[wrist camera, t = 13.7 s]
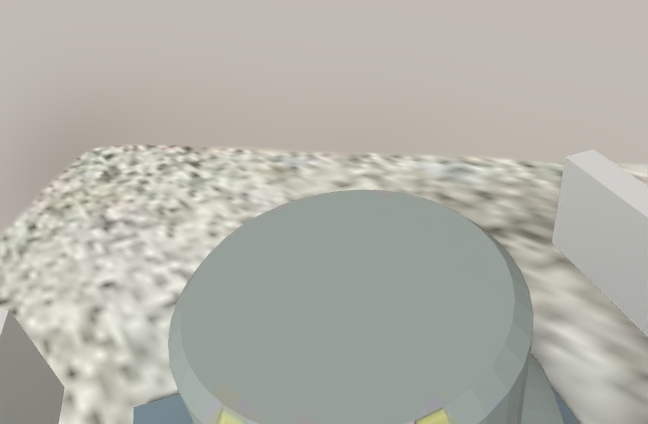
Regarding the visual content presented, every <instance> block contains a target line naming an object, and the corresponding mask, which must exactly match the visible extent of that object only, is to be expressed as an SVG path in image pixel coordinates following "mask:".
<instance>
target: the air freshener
mask: <svg viewBox="0 0 648 424" xmlns="http://www.w3.org/2000/svg"><path fill="white" fill-rule="evenodd" d="M532 328H533V310H532V304H531V299H530V293H529V290H528V287H527V285H526V283H525V280H524V278H523V275H522V273H521V270H520V269H519V268H518V266H517V265H516V263H515V262H514V260H513V259H512V257H511V256H510V254H509V253H508V252H507V250H506V249H505V248H504V247H503V246H502V245H501V244H500V243H499V242H498V241H497V240H496V239H495V238H494V237H493V236H492V235H490V234H489V233H487V232H486V231H485V230H483V229H482V228H481V227H479V226H478V225H477V224H475V223H474V222H472V221H471V220H469V219H467V218H466V217H464V216H462V215H460V214H459V213H457V212H455V211H453V210H451V209H449V208H447V207H445V206H443V205H440V204H438V203H435V202H432V201H430V200H427V199H424V198H420V197H416V196H412V195H408V194H404V193H396V192H389V191H379V190H351V191H338V192H331V193H324V194H318V195H314V196H310V197H306V198H302V199H298V200H295V201H292V202H290V203H287V204H284V205H281V206H278V207H276V208H274V209H272V210H270V211H267V212H265V213H263V214H261V215H259V216H257V217H256V218H254V219H252V220H251V221H249V222H247V223H246V224H244V225H242V226H241V227H239V228H238V229H237V230H235V231H234V232H233V233H231V234H230V235H229V236H228V237H226V238H225V239H224V240H223V241H222V242H221V243H220V244H219V245H218V246H217V247H216V248H215V249H214V250H213V251H212V252H211V253H210V254H209V255H208V256H207V257H206V258H205V260H204V261H203V262H202V263H201V264H200V266H199V267H198V268H197V270H196V271H195V272H194V274H193V275H192V276H191V278H190V279H189V280H188V282H187V284H186V286H185V288H184V289H183V291H182V293H181V295H180V297H179V299H178V301H177V304H176V307H175V310H174V313H173V316H172V319H171V323H170V331H169V340H168V349H169V359H170V368H171V370H172V373H173V376H174V379H175V382H176V385H177V388H178V391H179V393H180V395H181V397H182V399H183V401H184V403H185V405H186V407H187V409H188V412H189V414H190V416H191V418H192V420H193V422H192V424H564V422H563V419H562V416H561V413H560V410H559V407H558V404H557V402H556V399H555V396H554V393H553V390H552V388H551V386H550V383H549V381H548V379H547V377H546V374H545V372H544V370H543V368H542V366H541V365H540V363H539V362H538V361H537V359H536V358H535V357H534V356H533V355H532V354H530V349H531V342H532Z"/></svg>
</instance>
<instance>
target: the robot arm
mask: <svg viewBox="0 0 648 424" xmlns="http://www.w3.org/2000/svg"><path fill="white" fill-rule="evenodd" d="M552 243H553V244H554V245H555V246H556V247H557V248H558V249H559V250H560V251H561V252H562V253H563V254H564V255H565V256H566V257H567V258H568V259H569V260H570V261H571V262H572V263H573V264H574V265H575V266H576V267H577V268H578V269H579V270H580V271H581V272H582V273H583V274H584V275H585V276H586V277H587V278H588V279H589V280H590V281H591V282H592V283H593V284H594V285H595V286H596V287H597V288H598V289H599V290H600V291H601V292H602V293H603V294H604V295H605V296H606V297H607V298H609V299H610V300H611V301H612V302H613V303H614V304H615V305H616V306H617V307H618V308H619V309H620V310H621V311H622V312H623V313H624V314H625V315H626V316H627V317H628V318H629V319H630V320H631V321H632V322H633V323H634V324H635V325H636V326H637V327H638V328H639V329H640V330H641V331H642V332H643V333H644V334H645V335H646V336H647V337H648V186H647V185H646V184H644V183H643V182H641V181H640V180H638V179H637V178H635V177H634V176H632V175H631V174H629V173H628V172H626V171H625V170H623V169H622V168H621V167H619V166H618V165H616V164H615V163H613V162H612V161H610V160H609V159H607V158H606V157H604V156H603V155H601V154H600V153H598V152H597V151H595V150H594V149H592V150H588V151H585V152H581V153H578V154H574V155H570V156H566V157H565V163H564V169H563V175H562V182H561V188H560V194H559V201H558V207H557V213H556V220H555V226H554V232H553V239H552ZM63 393H64V386H63V385H62V383H61V382H60V380H59V379H58V378H57V376H56V375H55V373H54V372H53V371H52V369H51V368H50V366H49V365H48V364H47V362H46V361H45V359H44V358H43V356H42V355H41V354H40V352H39V351H38V349H37V348H36V347H35V345H34V344H33V342H32V341H31V340H30V338H29V337H28V335H27V334H26V333H25V331H24V330H23V328H22V327H21V326H20V324H19V323H18V321H17V320H16V319H15V317H14V316H13V314H12V313H11V311H10V310H9V309H8V310H4V311H0V424H58V423H59V417H60V411H61V405H62V399H63Z"/></svg>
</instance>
